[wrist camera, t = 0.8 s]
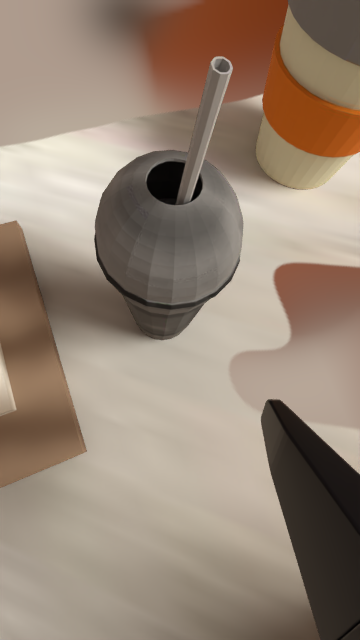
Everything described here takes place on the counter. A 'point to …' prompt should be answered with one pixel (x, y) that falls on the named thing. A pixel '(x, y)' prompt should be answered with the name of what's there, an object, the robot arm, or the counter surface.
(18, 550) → the counter surface
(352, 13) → the reusable coffee cup
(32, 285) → the base board
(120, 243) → the beverage cup
